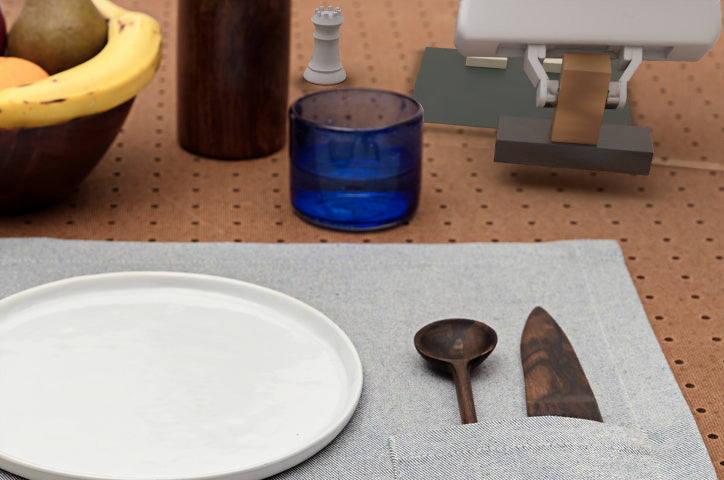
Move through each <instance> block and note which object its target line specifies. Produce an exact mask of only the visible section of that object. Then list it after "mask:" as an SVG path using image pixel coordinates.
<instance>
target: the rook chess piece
mask: <svg viewBox="0 0 724 480" xmlns="http://www.w3.org/2000/svg"><path fill="white" fill-rule="evenodd" d="M333 8H334V9H333ZM310 21H311V23H312V24H313V25H314V31H313V33H312V36H313V39H314V40H313V48H312V55H311V59H310V61H308V64H307V67H306V68H305V69H304V72H303V75H302V76H303V77H304V80H305V81H307V82H308V83H310V84H313V85H317V86H333V85H337V84H341V83H343V82H344V81H345V80H346V78H347V72H346V70H345V69H344V68H343V63H342V61H341V57H340V38H342V34H341V32H340V27H341V26H342V25H343V23H344V22H345V18H344V17H343V15H342V9H341V8H340V7H339V6H335V7H334V5H327V9H326V10H325V6H324V5H322V6H318V7H316V8H315V9H314V14H313V15H312V17H311V19H310Z"/></svg>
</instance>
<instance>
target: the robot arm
mask: <svg viewBox="0 0 724 480" xmlns="http://www.w3.org/2000/svg"><path fill="white" fill-rule="evenodd" d="M721 5H722V4H721V0H459V4H458V10H457V14H456V21H455V25H454V36H453V46H454V49H457V50H458V52H459V53H460V54H461V55H462V56H465V57H502V58H524V66H523V70H524V71H525V73H526V74H527V76H528V78H529V79H530V81H531V82H532V84H533V86H534V87H535V88H537V97H536V106H537V108H556V105H557V103H558V97H559V92H558V90H559V85H560V80H549V78H548V76H547V74H546V72H545V70H544V69H543V67H542V64H543V62H544V60H545V58H548V59H563V54H564V52H576V53H592V54H608V55H610V60H617V70H618V71H624V73H623V75H622V76H621V78H620V79H619V81H610V83H609V88H608V93H607V98H606V103H605V108H604V109H612V110H622V109H623V107H624V106H625V103H626V98H627V95H628V83H629V82H630V80H631V78H632V77H633V76H634V74H635V73H636V72H637V69H638V68H639V67H640V65H641V63H642V62H643V61H644V62H685V63H687V62H690V63H694V62H699V61H701V60H702V59H703V58H705V56H706V55H707V54H709V53H710V52H711V50H712V49H713V48H714V47H715V45H716V44H717V42H718V40H719V38H720V36H721V33H722V6H721Z"/></svg>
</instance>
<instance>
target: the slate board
mask: <svg viewBox="0 0 724 480" xmlns="http://www.w3.org/2000/svg"><path fill="white" fill-rule="evenodd" d="M466 59H467V57H465V56H462V55H461V54H460V53H459V52H458V50H457V49H456V48H448V47H437V46H436V47H435V46H425V48H424V52H423V55H422V59H421V63H420V66H419V69H418V73H417V77H416V80H415V84H414V88H413V91H412V95H411V98H413V99H415V100H416V101H418V102H419V103H420V104H421V105H422V107H423V109H424V122H422V124H423V123H426V124H435V125H447V126H448V125H449V126H459V127H471V128H481V129H482V128H483V129H494V130H497V129H498V122H499V116H509V117H522V118H535V119H548V120H552V117H553V111H554V108H537V106H536V97H537V88H535V87H534V86H533V84H532V82H531V81H530V79H529V78H528V76H527V74H526V73H525V71H524V70H523V66H524V58H507V65H506V69H500V68H486V67H473V66H466ZM610 62H611V72H612V74H611V78H610V81H619V79H620V78H621V76H622V75H623V73H624V72H625V70H624V71H618V70H617V60H610ZM546 74H547V76H548V78H549V80H559V77H560V73H552V72H546ZM601 124H613V125H626V126H633V125H632V119H631V111H630V103H629V96H628V94H627V98H626V103H625V106H624V107H623V109H622V110H612V109H604V113H603V118H602V123H601Z"/></svg>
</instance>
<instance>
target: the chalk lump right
mask: <svg viewBox="0 0 724 480" xmlns="http://www.w3.org/2000/svg"><path fill="white" fill-rule="evenodd" d="M562 60H563V59H548V58H545V60H544V62H543V64H542V67H543V69H544V70H545V72H552V73H560V71H561V65H562Z"/></svg>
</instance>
